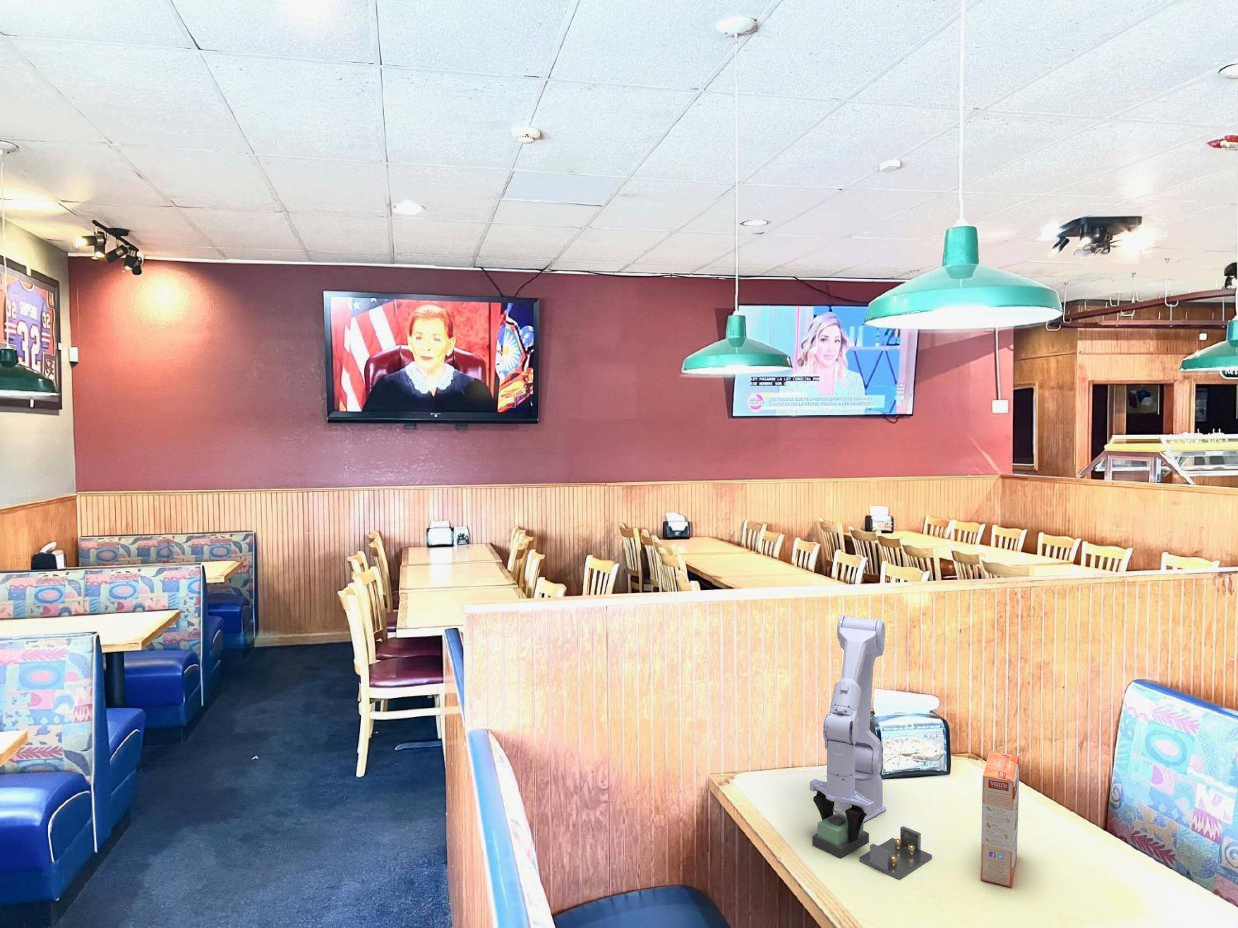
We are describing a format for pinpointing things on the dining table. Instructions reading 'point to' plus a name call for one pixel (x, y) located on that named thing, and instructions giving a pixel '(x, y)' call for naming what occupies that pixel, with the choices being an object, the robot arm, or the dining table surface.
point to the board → (835, 828)
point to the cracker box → (999, 818)
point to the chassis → (897, 854)
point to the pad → (841, 849)
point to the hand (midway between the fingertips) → (840, 834)
